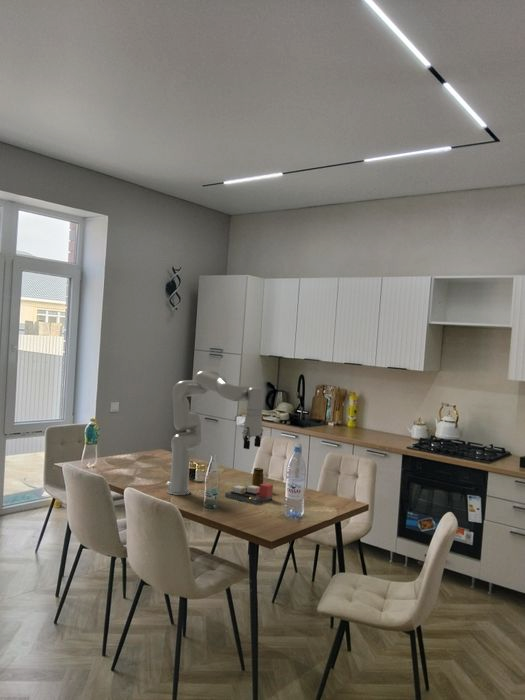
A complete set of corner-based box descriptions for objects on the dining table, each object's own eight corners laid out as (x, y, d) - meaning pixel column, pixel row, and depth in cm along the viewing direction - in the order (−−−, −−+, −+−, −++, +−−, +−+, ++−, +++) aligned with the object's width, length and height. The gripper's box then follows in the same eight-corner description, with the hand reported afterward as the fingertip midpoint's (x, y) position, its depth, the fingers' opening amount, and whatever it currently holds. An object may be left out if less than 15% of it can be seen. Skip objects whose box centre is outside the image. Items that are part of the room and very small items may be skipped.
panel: (225, 496, 297) (225, 491, 297) (241, 491, 310) (241, 486, 310) (256, 504, 286) (256, 499, 286) (272, 499, 299) (272, 494, 299)
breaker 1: (232, 492, 298) (232, 486, 298) (238, 490, 303) (238, 485, 303) (240, 494, 296) (240, 488, 296) (245, 492, 300) (246, 487, 300)
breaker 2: (246, 492, 301) (247, 486, 301) (251, 490, 305) (252, 485, 305) (254, 494, 298) (254, 488, 298) (259, 492, 302) (260, 486, 302)
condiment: (259, 488, 321) (261, 467, 321) (266, 491, 314) (268, 470, 314) (248, 488, 318) (249, 467, 318) (255, 492, 310) (257, 471, 310)
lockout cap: (259, 495, 296) (259, 484, 296) (264, 494, 300) (265, 483, 300) (267, 497, 294) (267, 486, 294) (272, 496, 298) (272, 484, 298)
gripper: (257, 410, 284) (254, 444, 284) (238, 412, 270) (235, 448, 270) (270, 412, 280) (267, 446, 280) (251, 414, 266) (248, 450, 266)
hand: (251, 447), depth 275 cm, fingers open, 9 cm apart
